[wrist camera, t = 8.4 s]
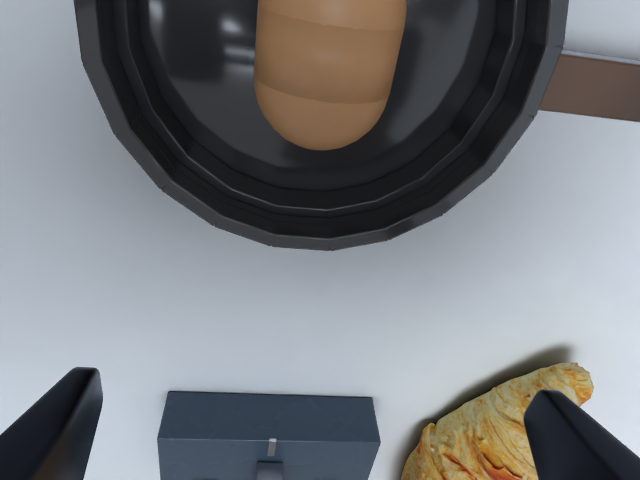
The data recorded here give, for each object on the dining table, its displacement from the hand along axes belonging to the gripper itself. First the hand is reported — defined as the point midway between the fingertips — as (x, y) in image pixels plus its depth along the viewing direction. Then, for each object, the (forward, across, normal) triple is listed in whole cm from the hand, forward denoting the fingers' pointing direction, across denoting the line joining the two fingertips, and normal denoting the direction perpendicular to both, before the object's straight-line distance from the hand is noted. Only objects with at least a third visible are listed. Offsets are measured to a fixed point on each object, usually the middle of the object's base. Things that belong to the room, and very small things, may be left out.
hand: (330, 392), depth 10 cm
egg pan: (+12, 0, -5) cm, 13 cm away
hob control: (+12, 0, +19) cm, 23 cm away
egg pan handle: (+9, -11, -5) cm, 15 cm away
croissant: (+12, -14, +20) cm, 27 cm away
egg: (+11, 0, -5) cm, 12 cm away
